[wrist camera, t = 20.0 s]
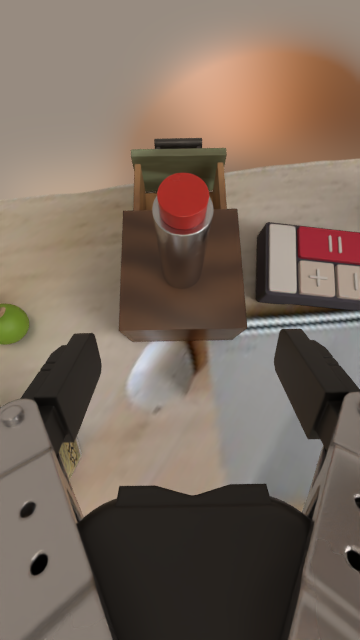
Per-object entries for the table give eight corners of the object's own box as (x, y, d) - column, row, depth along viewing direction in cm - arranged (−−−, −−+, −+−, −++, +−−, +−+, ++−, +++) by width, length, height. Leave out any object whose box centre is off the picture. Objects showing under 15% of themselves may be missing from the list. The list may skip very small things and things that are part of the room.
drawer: (139, 164, 42) (131, 124, 35) (217, 162, 42) (224, 123, 36) (137, 267, 38) (128, 243, 31) (224, 265, 38) (233, 241, 31)
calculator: (379, 303, 33) (267, 292, 33) (355, 312, 37) (255, 302, 37) (372, 229, 36) (267, 218, 35) (350, 245, 40) (257, 235, 40)
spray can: (200, 252, 30) (214, 165, 18) (202, 288, 29) (218, 223, 17) (162, 253, 30) (149, 166, 18) (162, 289, 29) (149, 224, 17)
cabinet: (134, 244, 39) (123, 210, 31) (225, 243, 39) (237, 208, 31) (132, 341, 36) (118, 330, 28) (232, 339, 36) (247, 328, 28)
